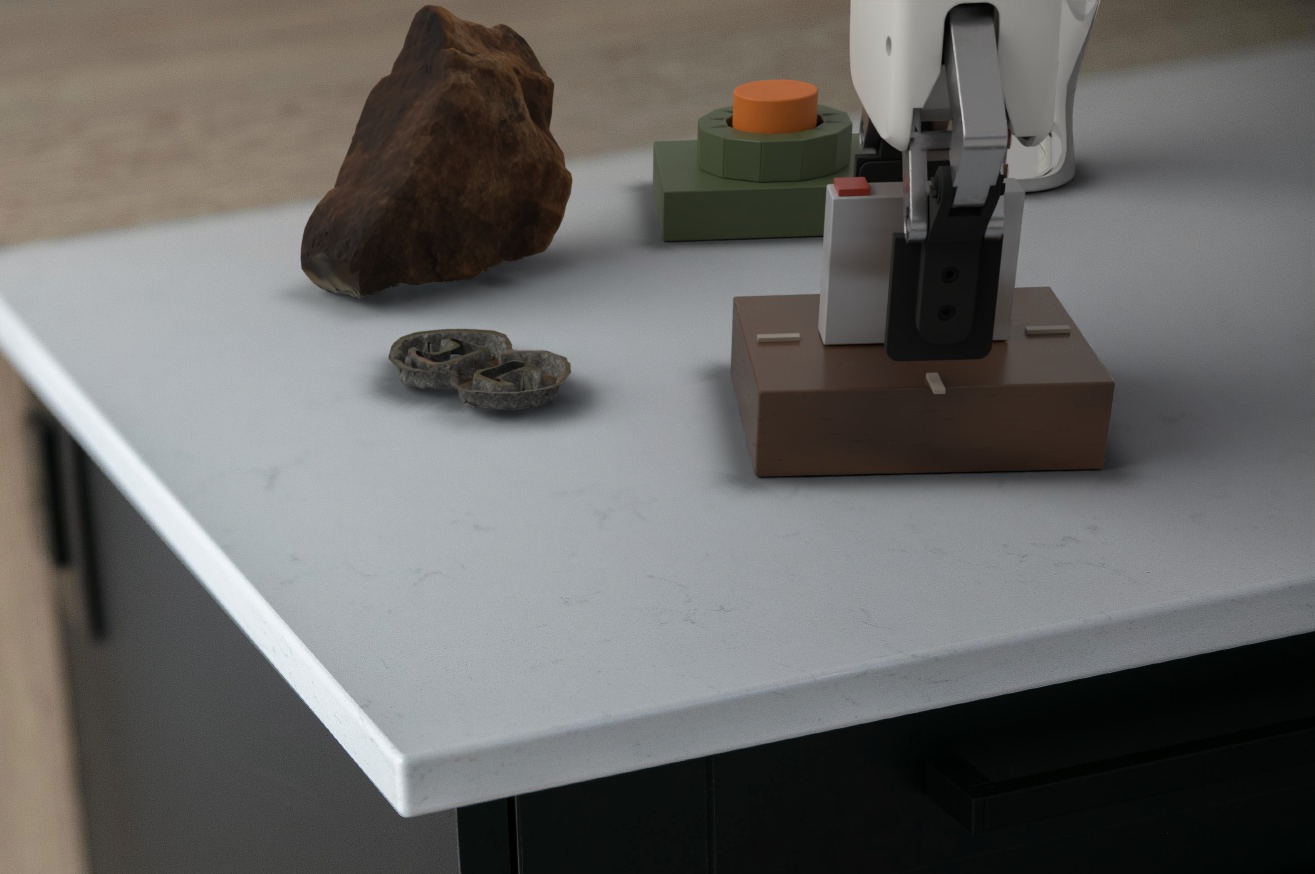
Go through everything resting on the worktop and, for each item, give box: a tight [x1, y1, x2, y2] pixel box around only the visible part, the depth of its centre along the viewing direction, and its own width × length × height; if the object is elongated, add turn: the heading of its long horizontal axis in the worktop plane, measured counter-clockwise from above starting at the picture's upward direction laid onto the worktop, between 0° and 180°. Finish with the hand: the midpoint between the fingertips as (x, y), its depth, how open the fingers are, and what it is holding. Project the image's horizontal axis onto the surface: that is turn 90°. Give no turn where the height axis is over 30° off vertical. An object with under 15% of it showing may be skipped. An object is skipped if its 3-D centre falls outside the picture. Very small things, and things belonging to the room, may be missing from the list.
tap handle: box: [818, 177, 1026, 345], centre depth 65 cm, size 6×2×5 cm, turn 85°
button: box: [732, 79, 819, 134], centre depth 87 cm, size 4×4×2 cm
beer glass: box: [948, 0, 1101, 193], centre depth 87 cm, size 7×7×15 cm
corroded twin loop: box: [387, 328, 572, 411], centre depth 73 cm, size 5×8×1 cm, turn 38°
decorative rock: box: [299, 4, 573, 299], centre depth 81 cm, size 12×6×11 cm, turn 120°
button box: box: [652, 104, 875, 242], centre depth 88 cm, size 10×8×4 cm
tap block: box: [730, 286, 1116, 478], centre depth 67 cm, size 11×10×3 cm
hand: (914, 307), depth 66 cm, fingers open, 8 cm apart
